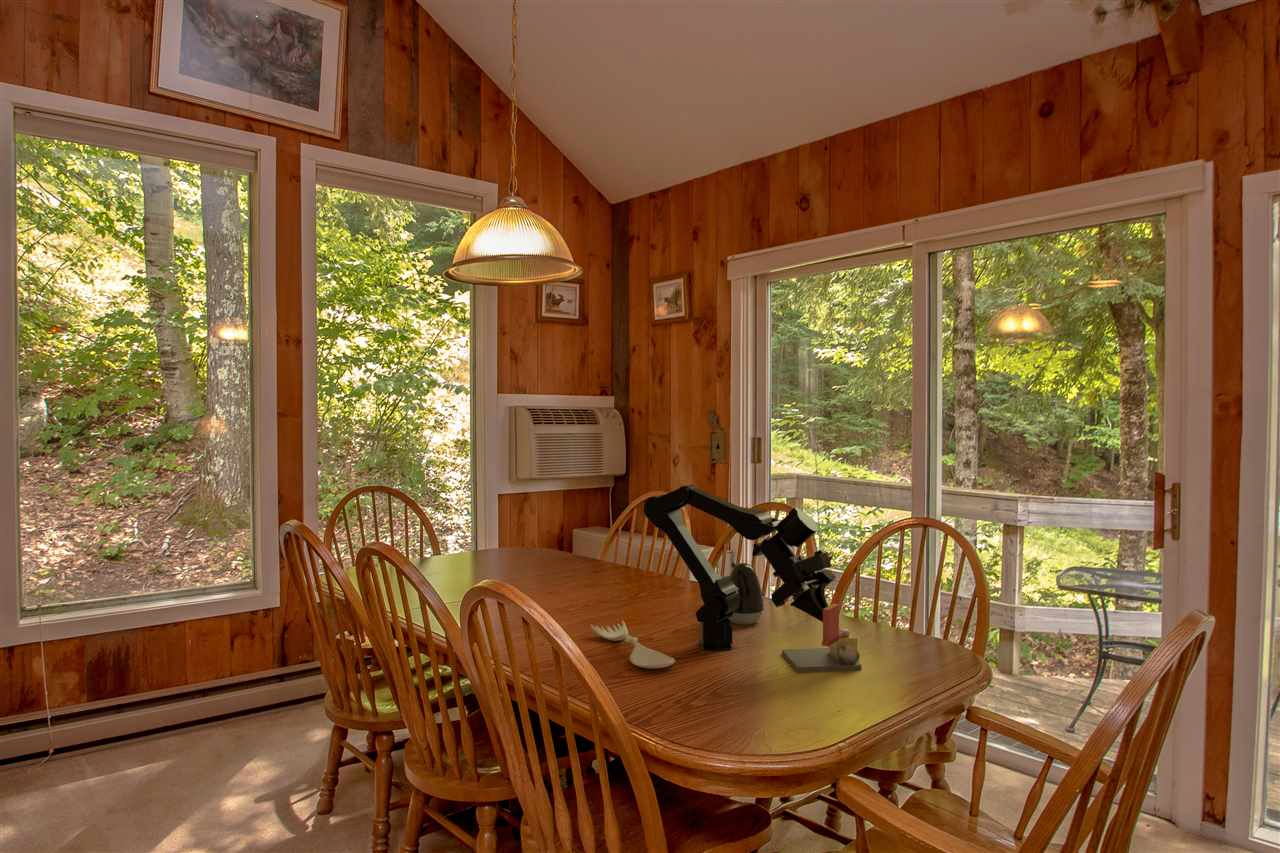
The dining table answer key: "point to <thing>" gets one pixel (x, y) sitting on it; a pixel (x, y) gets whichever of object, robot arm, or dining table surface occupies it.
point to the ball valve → (845, 650)
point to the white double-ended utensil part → (636, 648)
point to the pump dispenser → (747, 595)
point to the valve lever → (832, 626)
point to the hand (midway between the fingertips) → (828, 621)
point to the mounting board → (815, 660)
